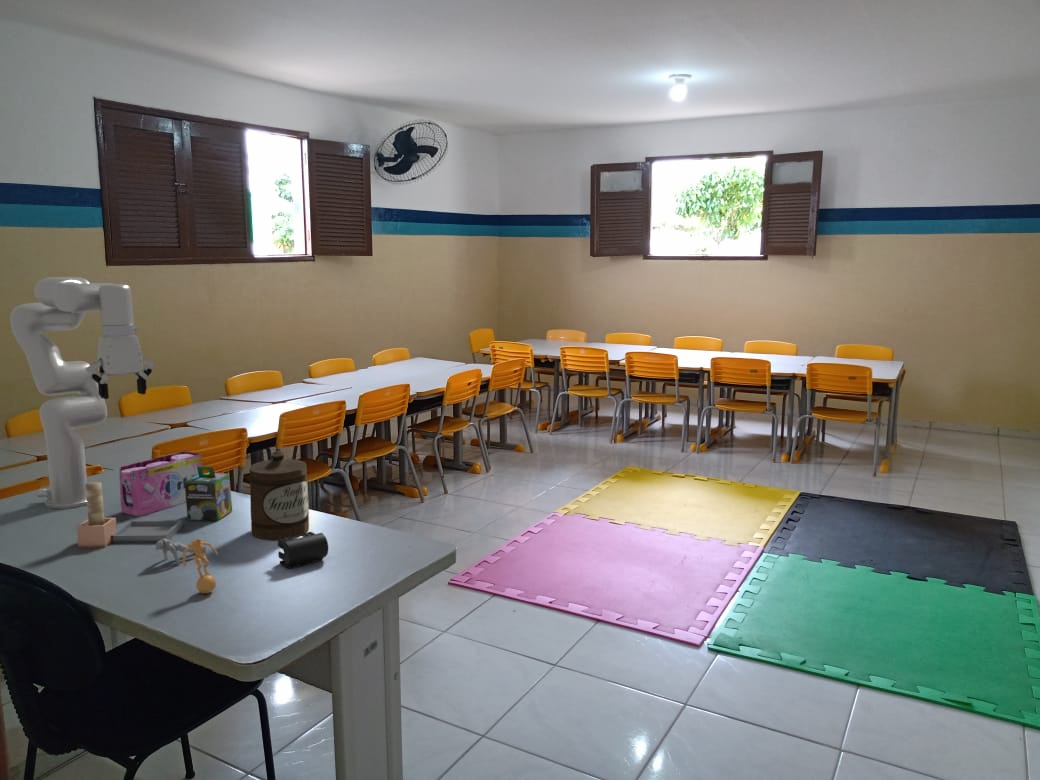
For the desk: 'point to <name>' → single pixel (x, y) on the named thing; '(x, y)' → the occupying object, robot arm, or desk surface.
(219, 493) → the chalk box
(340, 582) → the desk surface
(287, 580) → the desk surface
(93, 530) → the pink open box
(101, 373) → the robot arm
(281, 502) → the wooden container
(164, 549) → the soldier figurine
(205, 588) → the figurine
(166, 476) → the gum box
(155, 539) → the tray
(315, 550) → the end cap
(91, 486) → the dowel
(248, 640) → the desk surface
